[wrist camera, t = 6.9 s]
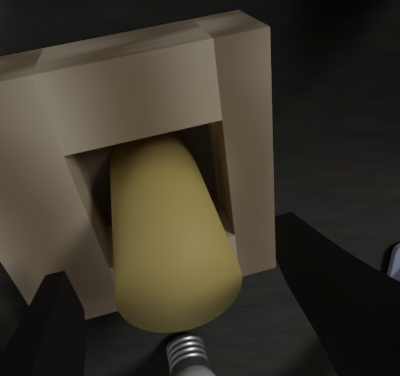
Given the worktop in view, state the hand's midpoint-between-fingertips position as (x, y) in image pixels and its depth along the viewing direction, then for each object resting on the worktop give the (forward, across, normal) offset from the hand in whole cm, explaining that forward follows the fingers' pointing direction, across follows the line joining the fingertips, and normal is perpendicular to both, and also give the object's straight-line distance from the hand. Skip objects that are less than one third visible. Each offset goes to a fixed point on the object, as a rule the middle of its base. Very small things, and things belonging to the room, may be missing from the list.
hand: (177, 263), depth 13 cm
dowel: (+7, 0, 0) cm, 7 cm away
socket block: (+7, +1, 0) cm, 7 cm away
